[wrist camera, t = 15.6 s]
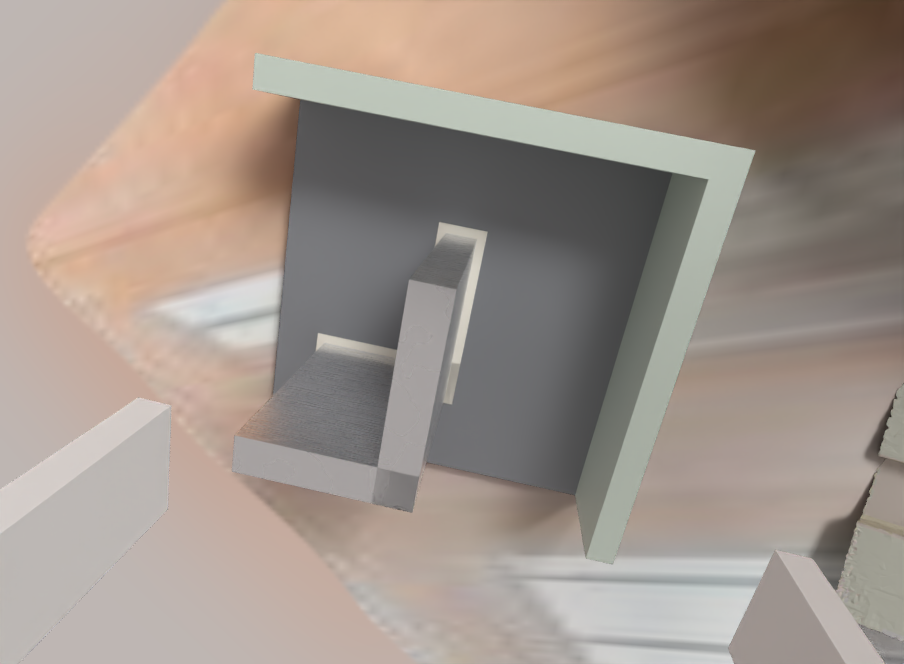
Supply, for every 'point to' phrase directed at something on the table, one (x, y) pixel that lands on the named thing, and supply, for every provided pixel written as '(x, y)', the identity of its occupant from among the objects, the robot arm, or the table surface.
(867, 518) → the wall
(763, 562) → the table surface
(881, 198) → the table surface
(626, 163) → the corner tray
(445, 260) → the angle bracket
